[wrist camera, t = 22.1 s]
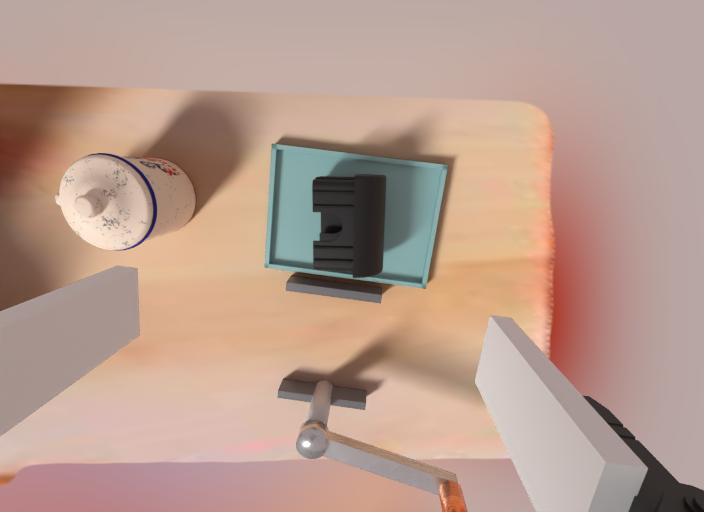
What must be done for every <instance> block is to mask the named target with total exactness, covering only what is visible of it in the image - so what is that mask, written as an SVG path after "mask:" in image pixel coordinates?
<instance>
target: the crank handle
mask: <svg viewBox="0 0 704 512" xmlns="http://www.w3.org/2000/svg"><path fill="white" fill-rule="evenodd" d="M296 448H297V450H298V452H299V453H300V454H301V455H302V456H304V457H306V458H309V459H317V458H319V457H321V456H324V457H327V458H330V459H333V460H336V461H339V462H342V463H345V464H348V465H351V466H354V467H357V468H360V469H363V470H366V471H369V472H372V473H374V474H377V475H380V476H383V477H386V478H389V479H392V480H395V481H398V482H401V483H404V484H407V485H410V486H413V487H416V488H419V489H422V490H425V491H428V492H431V493H434V494H437V495H439V496H440V501H441V505H442V511H443V512H467V508H466V504H465V501H464V497H463V493H462V490H461V486H460V485H459V484H458V481H457V477H456V474H454V473H451V472H448V471H445V470H442V469H439V468H437V467H433V466H430V465H428V464H425V463H421V462H419V461H416V460H413V459H410V458H407V457H404V456H401V455H398V454H395V453H392V452H389V451H386V450H384V449H381V448H378V447H375V446H372V445H369V444H366V443H363V442H360V441H357V440H354V439H351V438H348V437H345V436H342V435H339V434H336V433H333V432H331V431H329V430H328V428H327V426H326V425H325V424H324V423H323V422H321V421H318V420H308V421H306V422H305V423H303V424H302V426H301V428H300V432H299V435H298V439H297V442H296Z"/></svg>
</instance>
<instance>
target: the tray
mask: <svg viewBox="0 0 704 512" xmlns="http://www.w3.org/2000/svg"><path fill="white" fill-rule="evenodd" d="M447 168H448V165H443V164H435V163H427V162H418V161H410V160H402V159H394V158H386V157H378V156H369V155H361V154H353V153H345V152H337V151H328V150H320V149H312V148H304V147H296V146H288V145H279V144H272V151H271V167H270V184H269V201H268V218H267V234H266V251H265V268H272V269H280V270H287V271H295V272H303V273H310V274H318V275H325V276H333V277H341V278H348V279H356V280H363V281H371V282H379V283H386V284H394V285H401V286H409V287H417V288H424V289H426V284H427V279H428V273H429V268H430V262H431V257H432V251H433V246H434V240H435V235H436V229H437V224H438V218H439V213H440V207H441V201H442V196H443V190H444V185H445V179H446V174H447ZM356 174H374V175H385V176H386V202H385V229H384V256H383V270H382V272H381V273H380V274H378V275H375V276H371V277H365V278H353V271H338V270H314V268H313V241H320V237H319V233H321V212H313V202H312V182H313V180H314V179H315V178H316V177H320V176H336V177H354V176H355V175H356Z"/></svg>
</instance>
